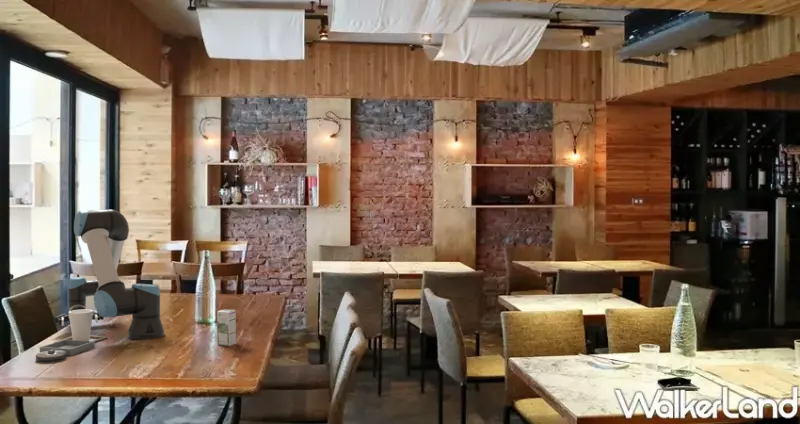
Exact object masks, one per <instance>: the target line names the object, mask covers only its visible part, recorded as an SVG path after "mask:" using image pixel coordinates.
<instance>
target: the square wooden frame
mask: <svg viewBox="0 0 800 424" xmlns="http://www.w3.org/2000/svg"><path fill="white" fill-rule="evenodd" d="M90 339H94V340H93V341H94V344H95V343H99V342H102V341H104V340H107V339H109V338H108V336H100V335H90ZM62 340H73V338H72V336H70V337H67V338H63V339H60V340H57V341H54V342H53V343H55V342H58V341H62Z"/></svg>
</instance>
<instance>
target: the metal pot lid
mask: <svg viewBox="0 0 800 424" xmlns="http://www.w3.org/2000/svg"><path fill="white" fill-rule="evenodd" d="M66 359H67V353H66V352H65V351H62V350H54V349H51V350H48V351H44V352H40V351H39V352H38V353H36V354H35V362H37V363H42V364H43V363H46V364H48V363H49V364H50V363H56V362H61V361H64V360H66Z"/></svg>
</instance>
